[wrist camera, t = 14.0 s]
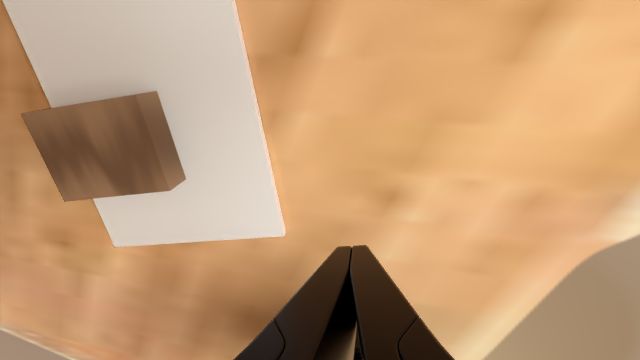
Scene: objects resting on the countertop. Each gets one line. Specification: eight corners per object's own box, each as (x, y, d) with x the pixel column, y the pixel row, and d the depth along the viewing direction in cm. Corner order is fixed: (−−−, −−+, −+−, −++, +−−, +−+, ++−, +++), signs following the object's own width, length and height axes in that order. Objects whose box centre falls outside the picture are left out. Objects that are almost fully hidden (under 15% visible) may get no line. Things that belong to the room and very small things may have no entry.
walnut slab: (170, 190, 20) (63, 201, 21) (186, 178, 22) (86, 189, 23) (135, 95, 18) (19, 114, 19) (156, 90, 20) (49, 108, 21)
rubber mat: (285, 231, 23) (283, 236, 23) (120, 242, 26) (114, 247, 25) (221, -60, 17) (216, -64, 16) (7, -9, 19) (-3, -11, 19)
